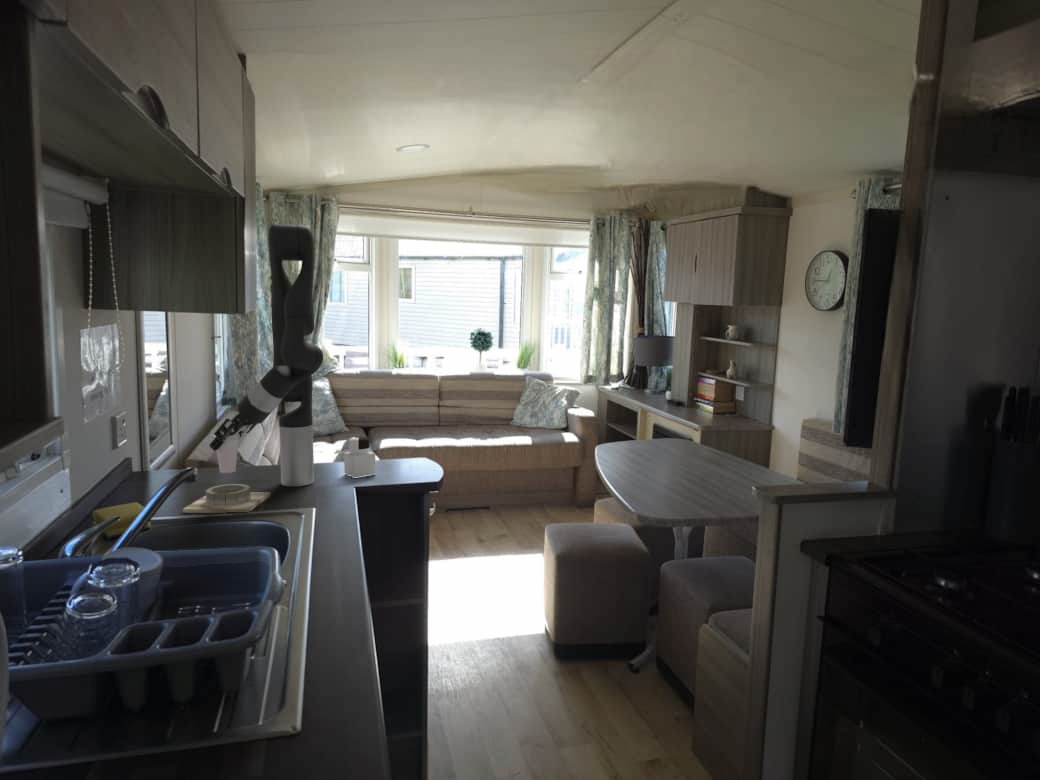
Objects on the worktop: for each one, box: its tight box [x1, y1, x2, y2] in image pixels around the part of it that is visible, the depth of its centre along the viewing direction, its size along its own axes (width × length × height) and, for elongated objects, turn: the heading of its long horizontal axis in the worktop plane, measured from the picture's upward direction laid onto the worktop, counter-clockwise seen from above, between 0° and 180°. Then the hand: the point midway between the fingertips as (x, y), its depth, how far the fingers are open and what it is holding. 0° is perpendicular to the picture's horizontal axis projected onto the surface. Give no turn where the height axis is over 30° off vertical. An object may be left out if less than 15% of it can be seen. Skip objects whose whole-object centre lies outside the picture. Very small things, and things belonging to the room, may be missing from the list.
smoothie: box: [212, 417, 241, 474], centre depth 173 cm, size 6×6×14 cm
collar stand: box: [182, 483, 272, 514], centre depth 174 cm, size 16×16×4 cm
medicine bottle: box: [343, 435, 376, 477], centre depth 206 cm, size 7×7×12 cm
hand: (220, 445), depth 173 cm, fingers closed on smoothie, 6 cm apart
